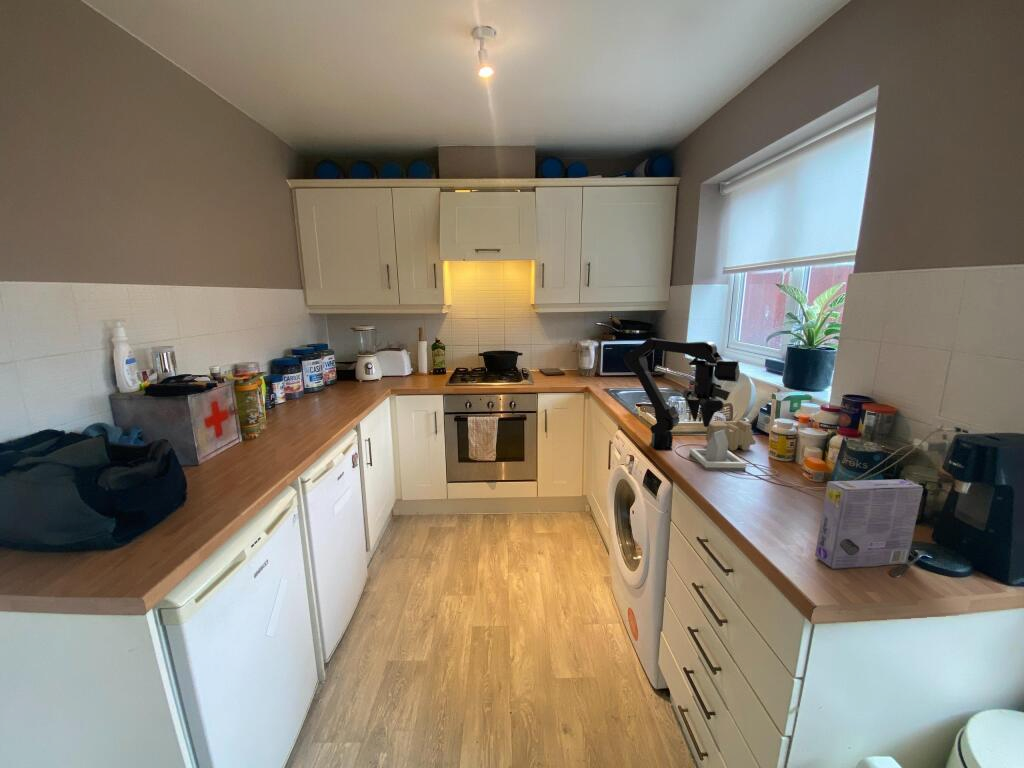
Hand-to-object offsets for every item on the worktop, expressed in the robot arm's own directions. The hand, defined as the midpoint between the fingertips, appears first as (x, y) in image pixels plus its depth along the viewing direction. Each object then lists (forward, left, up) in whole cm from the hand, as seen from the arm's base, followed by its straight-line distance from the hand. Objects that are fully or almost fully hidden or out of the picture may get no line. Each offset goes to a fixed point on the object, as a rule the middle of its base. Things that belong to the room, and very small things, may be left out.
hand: (700, 422), depth 142 cm
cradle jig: (+4, -6, -12) cm, 14 cm away
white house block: (+4, -6, -11) cm, 13 cm away
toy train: (+15, +8, -13) cm, 21 cm away
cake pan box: (+10, -58, -12) cm, 61 cm away
